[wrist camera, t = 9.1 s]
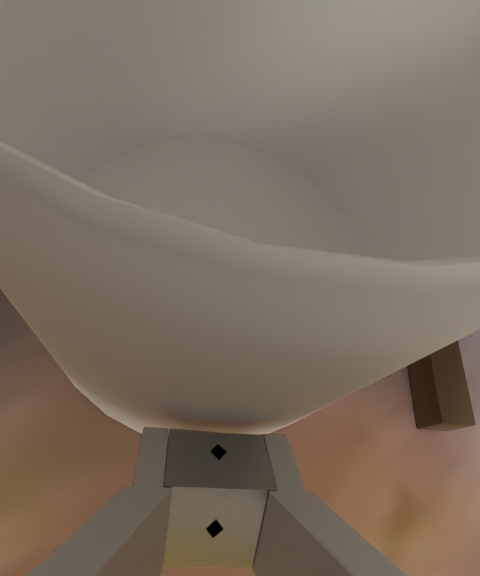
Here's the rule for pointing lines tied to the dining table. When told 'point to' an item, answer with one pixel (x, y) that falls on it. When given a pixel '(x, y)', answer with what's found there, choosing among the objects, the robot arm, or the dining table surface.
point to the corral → (441, 391)
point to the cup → (239, 198)
